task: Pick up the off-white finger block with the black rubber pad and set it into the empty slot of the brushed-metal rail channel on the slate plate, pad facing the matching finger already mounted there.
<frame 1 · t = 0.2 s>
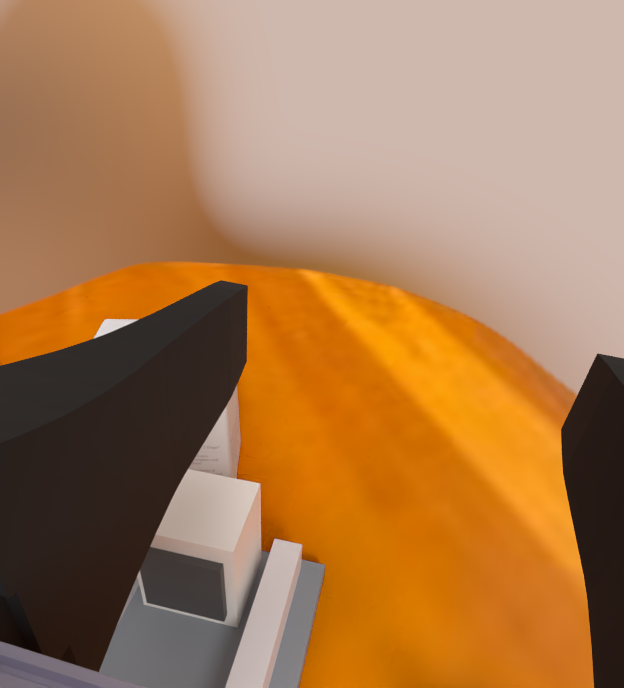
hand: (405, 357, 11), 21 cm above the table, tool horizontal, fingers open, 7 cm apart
small box: (178, 476, 37), on the table
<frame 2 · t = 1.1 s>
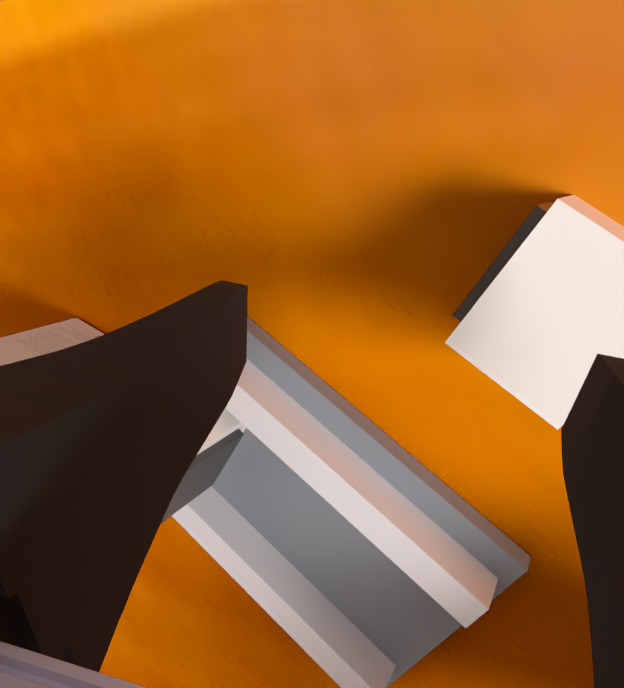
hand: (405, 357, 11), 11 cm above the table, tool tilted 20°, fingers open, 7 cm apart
finger block: (573, 285, 20), on the table
rail plate: (307, 496, 28), on the table
small box: (106, 389, 34), on the table
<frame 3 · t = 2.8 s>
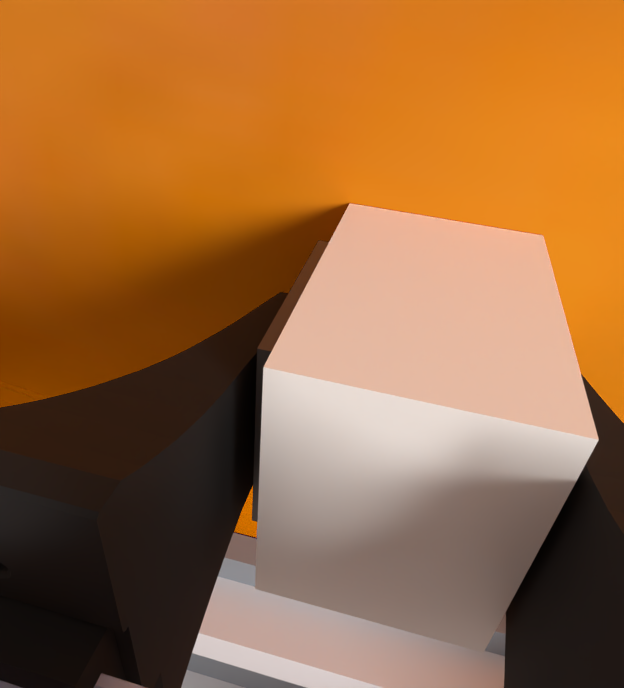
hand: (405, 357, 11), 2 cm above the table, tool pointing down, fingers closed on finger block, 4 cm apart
finger block: (420, 319, 13), on the table, touching gripper
rail plate: (267, 630, 22), on the table
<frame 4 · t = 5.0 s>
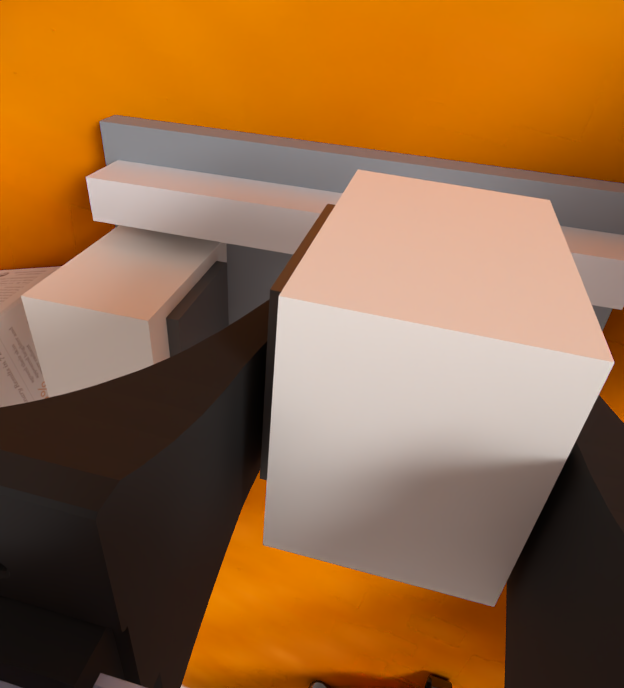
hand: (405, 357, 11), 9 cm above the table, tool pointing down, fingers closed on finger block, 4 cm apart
finger block: (426, 289, 13), point 7 cm above the table, touching gripper
rail plate: (344, 303, 22), on the table
small box: (56, 337, 27), on the table
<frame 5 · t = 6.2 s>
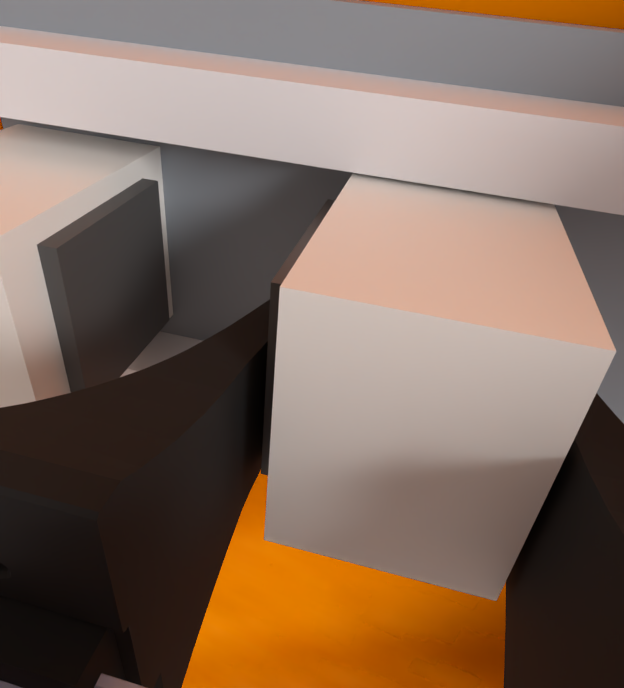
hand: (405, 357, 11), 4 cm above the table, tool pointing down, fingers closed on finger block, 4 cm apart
finger block: (427, 285, 13), point 2 cm above the table, touching gripper
rail plate: (332, 252, 15), on the table
when the fingers open (4 cm above the table, at t = 7.1 s): finger block stays where it is, resting on rail plate.
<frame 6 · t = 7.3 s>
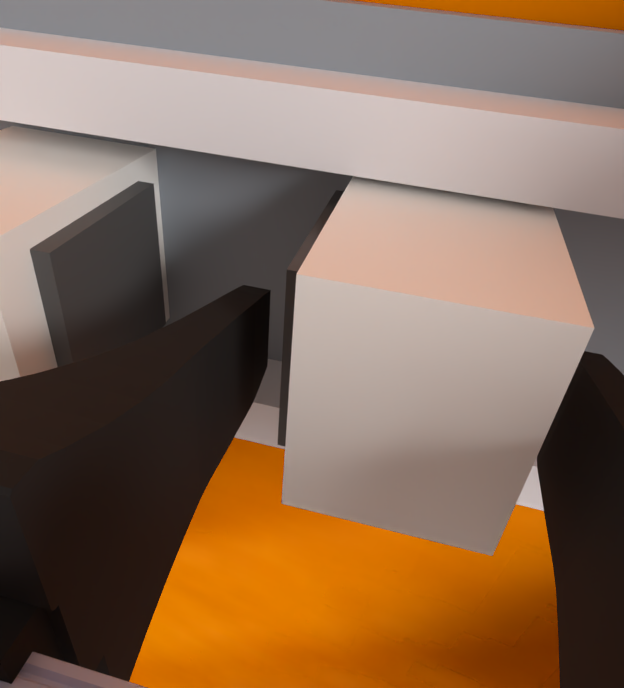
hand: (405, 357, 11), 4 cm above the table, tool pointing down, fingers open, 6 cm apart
finger block: (429, 270, 14), point 1 cm above the table, touching rail plate
rail plate: (330, 255, 15), on the table
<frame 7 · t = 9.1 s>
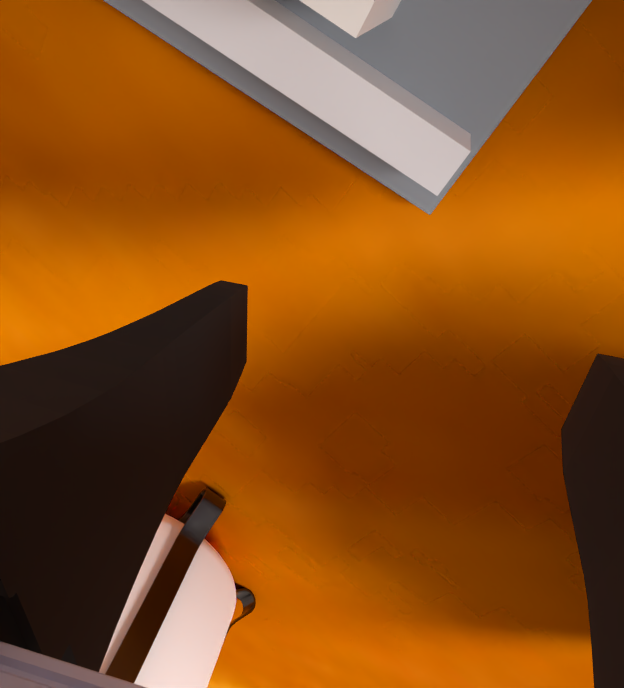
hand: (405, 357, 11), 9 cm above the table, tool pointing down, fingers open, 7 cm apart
coffee press: (173, 549, 36), on the table
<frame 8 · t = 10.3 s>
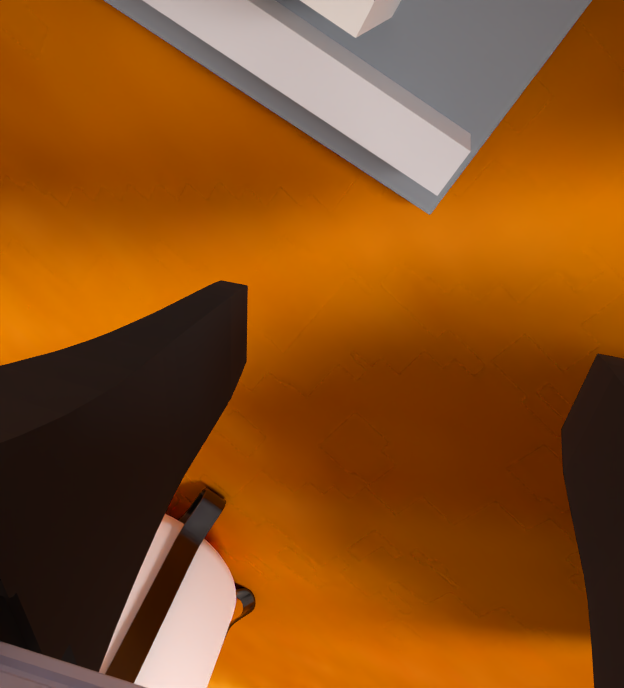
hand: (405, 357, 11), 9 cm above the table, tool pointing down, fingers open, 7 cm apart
coffee press: (173, 549, 36), on the table
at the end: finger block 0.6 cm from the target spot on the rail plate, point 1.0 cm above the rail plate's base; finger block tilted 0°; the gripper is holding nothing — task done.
